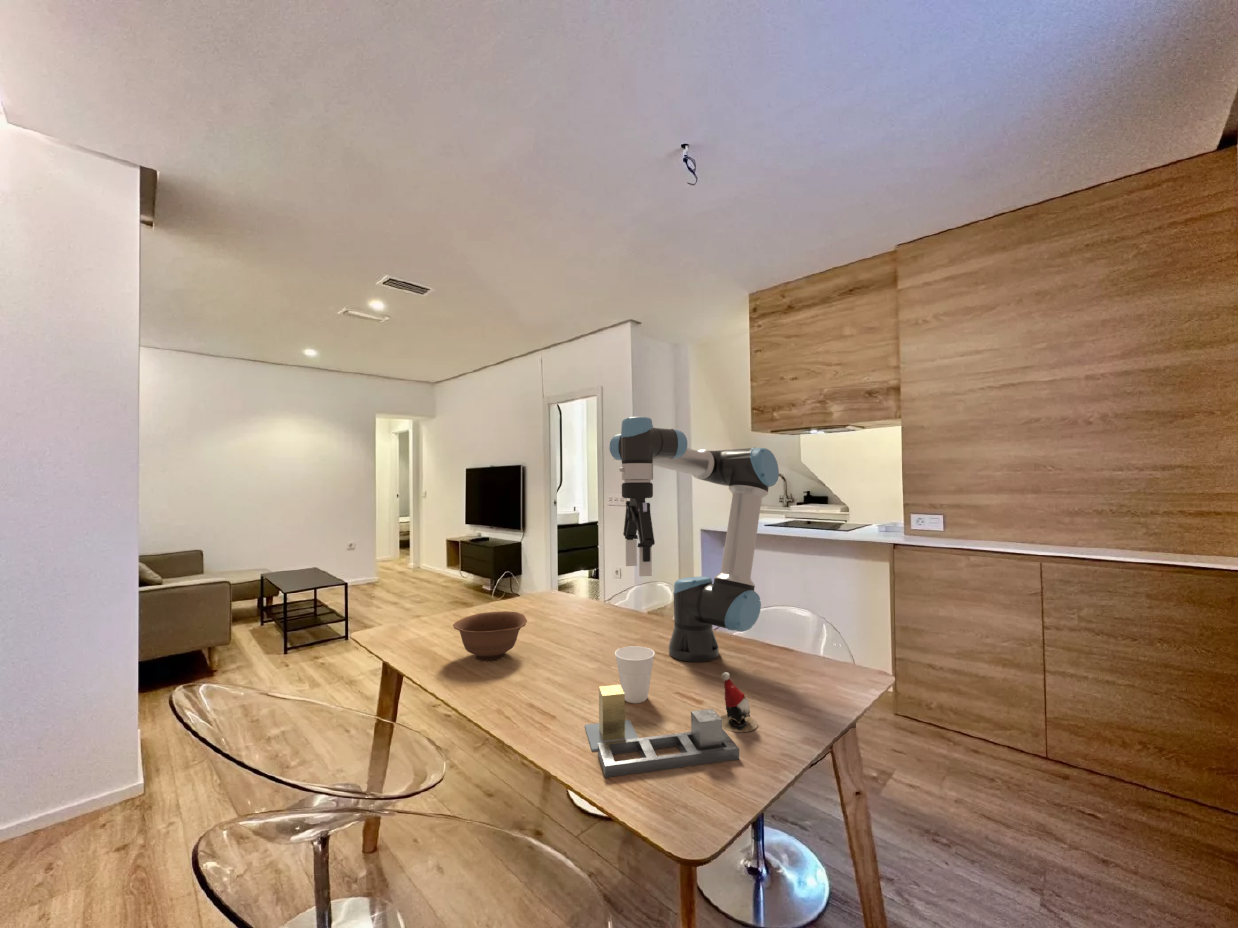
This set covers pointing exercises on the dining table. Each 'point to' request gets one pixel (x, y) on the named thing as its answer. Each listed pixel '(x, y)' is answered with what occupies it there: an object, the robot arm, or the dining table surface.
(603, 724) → the block
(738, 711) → the figurine
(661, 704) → the dining table surface
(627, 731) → the mat
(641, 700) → the cup
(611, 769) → the grey block holder tray
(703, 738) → the block
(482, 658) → the bowl
